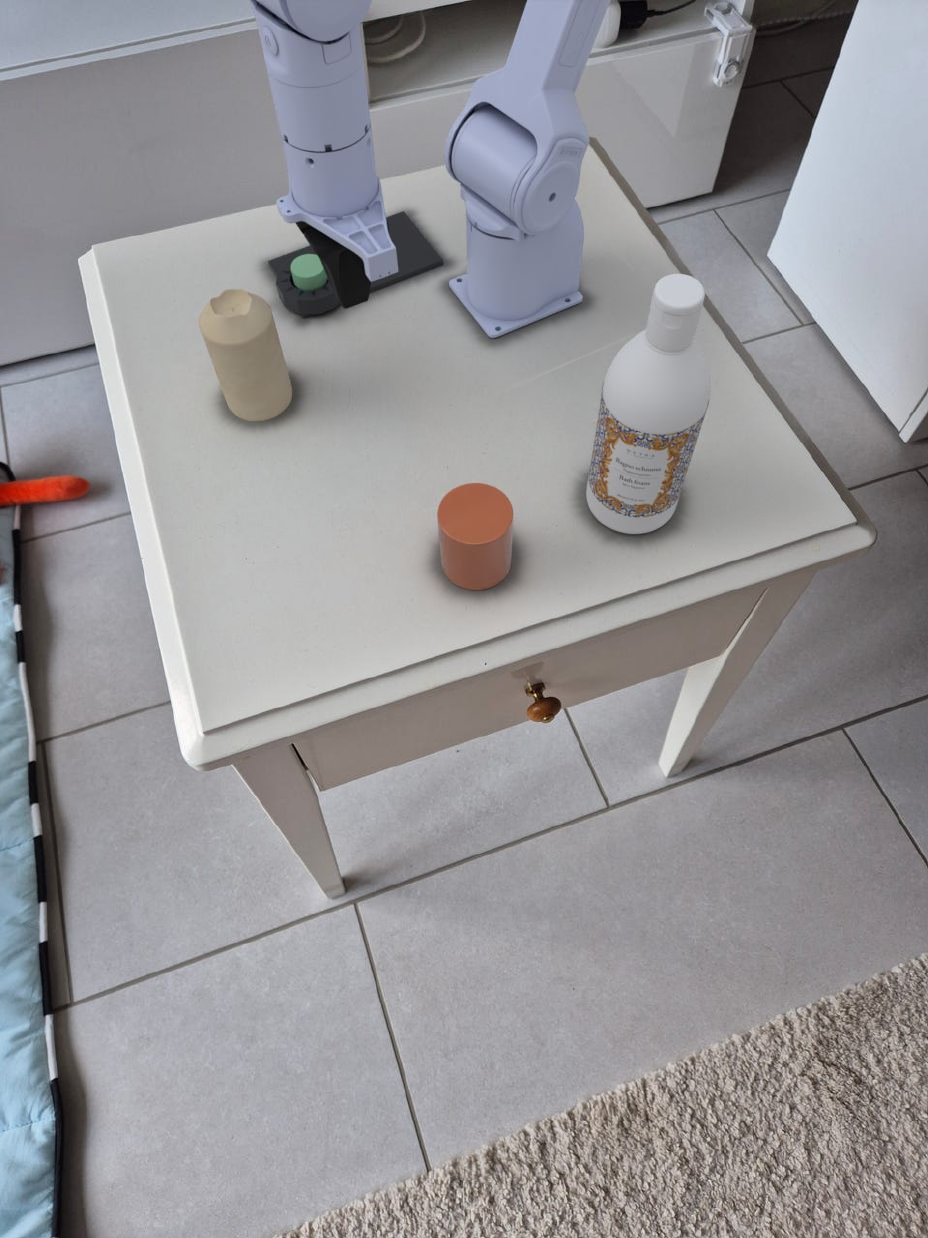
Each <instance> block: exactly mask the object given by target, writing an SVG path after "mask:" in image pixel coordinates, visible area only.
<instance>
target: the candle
mask: <svg viewBox="0 0 928 1238" xmlns="http://www.w3.org/2000/svg"><path fill="white" fill-rule="evenodd" d="M198 328H199V331H200V333H201V336H202V339H203V341H204V343H205V347H206V349H207V352H208V356H209V359H210V361H211V364H212V366H213V369H214V372H215V375H216V378H217V381H218V384H219V387H220V388H221V391H222V394H223V396H224V399H225V402H226V404H227V407H228V408H229V410H230V411H231V412H232V414H233V415H235V416H236V417H237V418H239V419H241V420H244V421H248V422H264V421H268V420H271V419H273V418H276V417H278V416H280V415H281V414H282V413H284V412H285V410H287V408H288V407H289V406H290V404H291V402H292V399H293V388H292V382H291V378H290V374H289V370H288V368H287V364H286V360H285V355H284V352H283V348H282V345H281V341H280V337H279V333H278V329H277V326H276V321H275V318H274V314H273V311H272V308H271V306H270V304H269V302H268V301H267V300H266V299H264V298H263V297H261V296H260V295H257V294H255V293H252V292H249V291H247V290H245V289H243V288H230V289H229V288H228V289H225V290H223V291H222V292H221V293H220V294H219V295H217V296H216V297H212V298H211V299H210V300H209V302H208V303H207V304H206V305H205V306H204V307H203V309H202V310H201V312H200V313H199V317H198Z"/></svg>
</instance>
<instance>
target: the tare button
mask: <svg viewBox="0 0 928 1238" xmlns="http://www.w3.org/2000/svg"><path fill="white" fill-rule="evenodd" d="M291 273H292V277H293V281H294V284H295V286H296V287H297V288H298V289H300V290H302V291H314V290H316V289H319V288H322V287H323V286H324V285H325V284H326V283H327V280H328V278H327V276H326V273H325V271H324V268H323V266H322V264H321V262H320V259H319V257H318V255H314V254H305V255H301V256H299V257H297V258H295V259H294V260H293V262H292V263H291Z"/></svg>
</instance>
